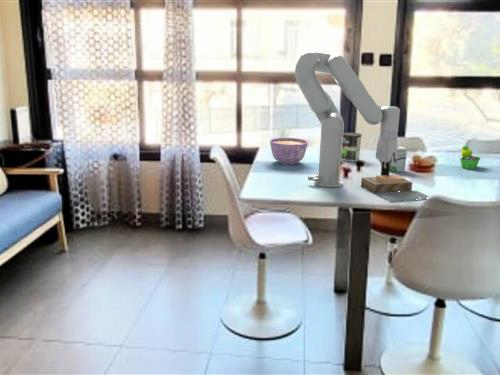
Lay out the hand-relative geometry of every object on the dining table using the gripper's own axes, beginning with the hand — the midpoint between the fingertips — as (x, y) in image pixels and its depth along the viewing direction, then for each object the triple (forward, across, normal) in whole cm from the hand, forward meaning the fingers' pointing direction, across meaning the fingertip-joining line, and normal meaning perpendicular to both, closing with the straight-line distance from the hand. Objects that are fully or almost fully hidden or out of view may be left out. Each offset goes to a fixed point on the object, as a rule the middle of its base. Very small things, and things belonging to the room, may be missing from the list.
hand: (384, 176), depth 229 cm
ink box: (+5, -27, +23) cm, 36 cm away
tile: (+1, +5, 0) cm, 5 cm away
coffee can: (+5, -56, +13) cm, 57 cm away
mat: (+5, +15, 0) cm, 16 cm away
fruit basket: (+6, -26, +66) cm, 71 cm away
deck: (+5, +2, 0) cm, 6 cm away
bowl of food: (+5, -54, -24) cm, 60 cm away
